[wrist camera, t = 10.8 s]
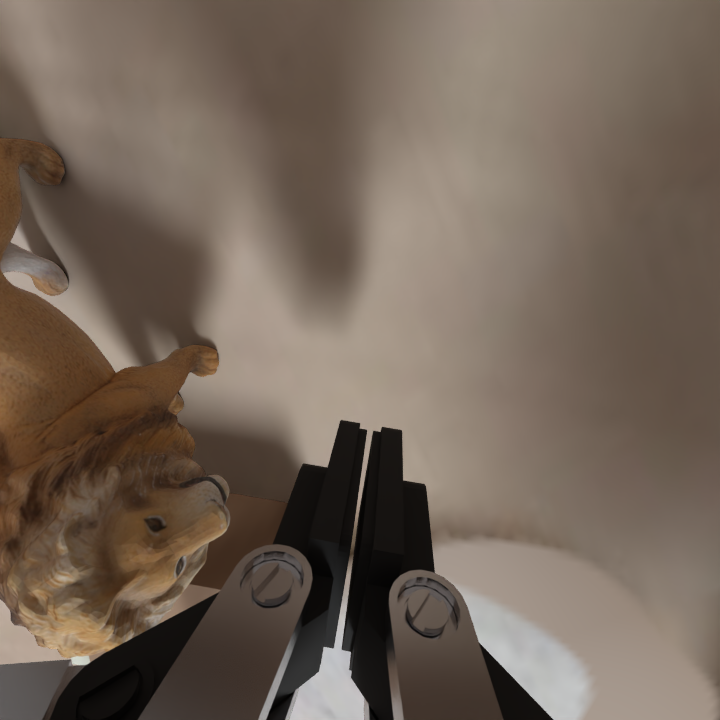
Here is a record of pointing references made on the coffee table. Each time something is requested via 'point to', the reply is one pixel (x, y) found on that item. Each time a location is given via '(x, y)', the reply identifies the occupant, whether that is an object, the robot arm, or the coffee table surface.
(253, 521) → the walnut block
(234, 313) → the coffee table surface
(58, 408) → the lion figurine
